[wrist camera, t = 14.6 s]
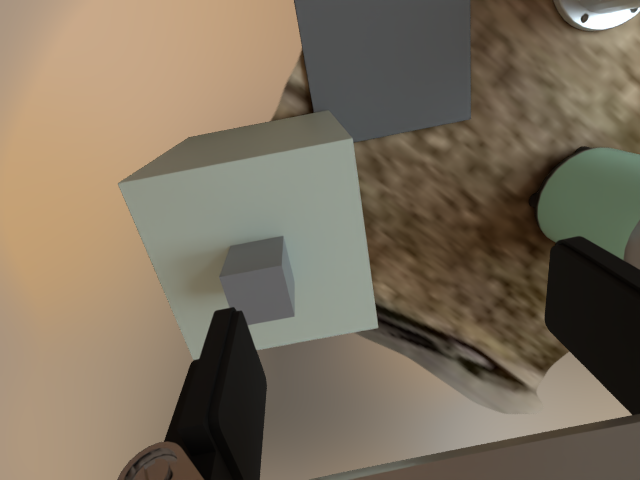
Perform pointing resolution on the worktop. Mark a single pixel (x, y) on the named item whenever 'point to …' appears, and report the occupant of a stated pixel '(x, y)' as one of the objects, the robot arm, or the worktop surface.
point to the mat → (387, 63)
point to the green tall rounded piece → (593, 201)
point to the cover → (259, 230)
